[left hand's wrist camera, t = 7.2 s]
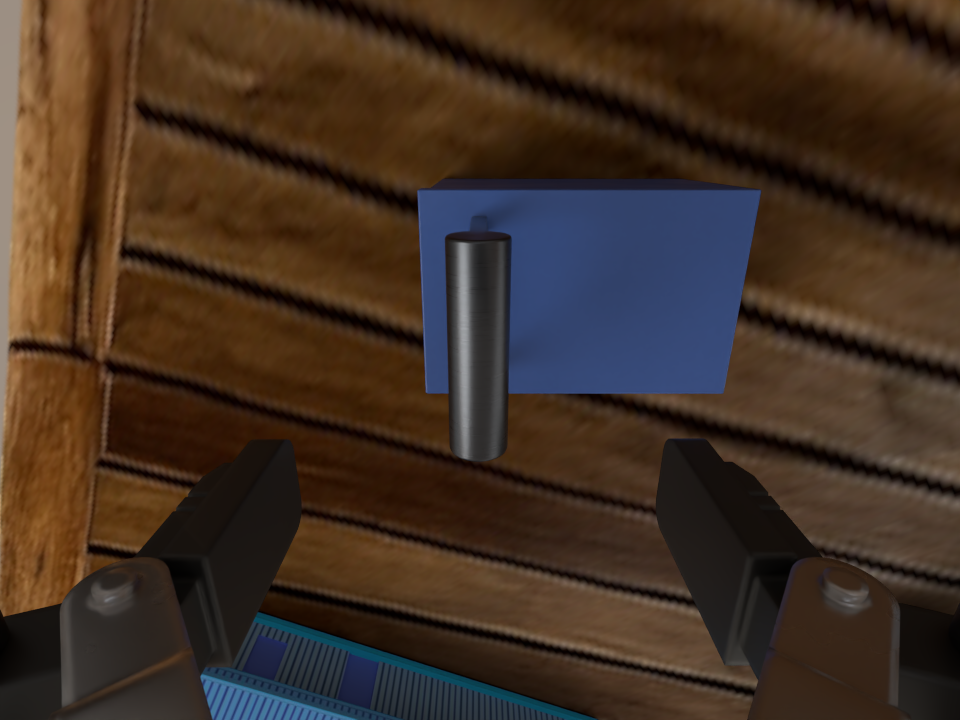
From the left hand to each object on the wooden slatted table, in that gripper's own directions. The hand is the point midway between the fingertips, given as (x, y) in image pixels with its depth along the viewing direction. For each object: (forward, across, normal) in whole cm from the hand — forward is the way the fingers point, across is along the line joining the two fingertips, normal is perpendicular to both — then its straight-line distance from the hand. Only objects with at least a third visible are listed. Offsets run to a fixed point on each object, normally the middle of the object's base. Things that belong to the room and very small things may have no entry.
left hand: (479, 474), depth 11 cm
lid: (+16, +5, 0) cm, 16 cm away
